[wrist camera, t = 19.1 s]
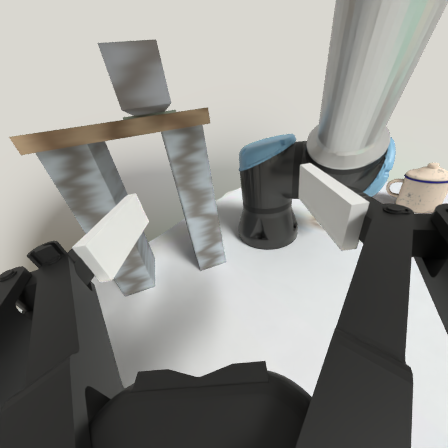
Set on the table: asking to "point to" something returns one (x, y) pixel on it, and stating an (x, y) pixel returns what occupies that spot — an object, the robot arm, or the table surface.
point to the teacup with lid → (422, 188)
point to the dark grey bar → (137, 76)
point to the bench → (115, 191)
